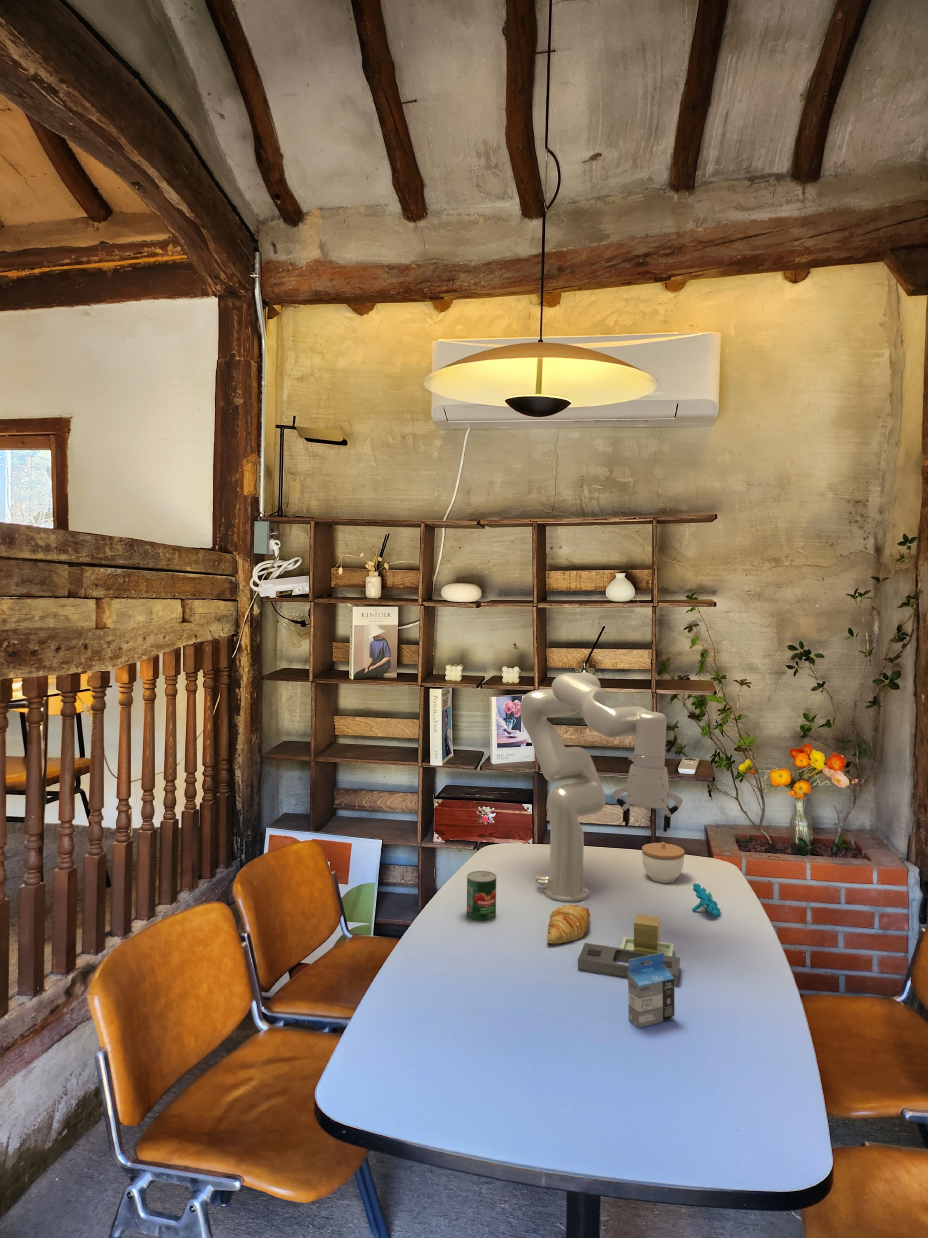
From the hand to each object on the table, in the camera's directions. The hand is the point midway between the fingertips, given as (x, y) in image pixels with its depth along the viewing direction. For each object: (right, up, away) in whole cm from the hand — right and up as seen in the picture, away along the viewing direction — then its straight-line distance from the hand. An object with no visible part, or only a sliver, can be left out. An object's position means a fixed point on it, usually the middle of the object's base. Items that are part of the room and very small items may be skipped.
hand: (646, 827), depth 199 cm
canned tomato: (-42, -27, +10) cm, 50 cm away
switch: (-8, -27, -19) cm, 34 cm away
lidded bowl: (+14, -27, +40) cm, 50 cm away
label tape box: (-8, -28, -41) cm, 50 cm away
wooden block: (-2, -27, -11) cm, 29 cm away
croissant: (-20, -27, +1) cm, 34 cm away
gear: (+20, -27, +14) cm, 37 cm away
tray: (-2, -27, -11) cm, 30 cm away
